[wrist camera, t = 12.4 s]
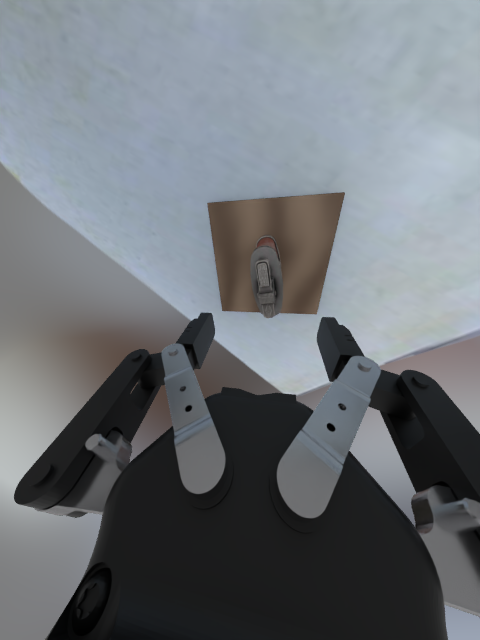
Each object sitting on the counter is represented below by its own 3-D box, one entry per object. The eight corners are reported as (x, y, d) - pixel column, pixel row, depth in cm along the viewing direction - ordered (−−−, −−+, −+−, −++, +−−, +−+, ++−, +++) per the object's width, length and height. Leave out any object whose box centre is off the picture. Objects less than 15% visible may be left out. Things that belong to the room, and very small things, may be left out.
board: (223, 308, 31) (222, 310, 30) (209, 203, 22) (207, 202, 21) (315, 311, 28) (316, 314, 28) (342, 192, 19) (345, 192, 19)
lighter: (282, 289, 26) (287, 327, 18) (261, 291, 27) (255, 330, 19) (278, 232, 22) (280, 249, 14) (252, 237, 23) (240, 256, 15)
